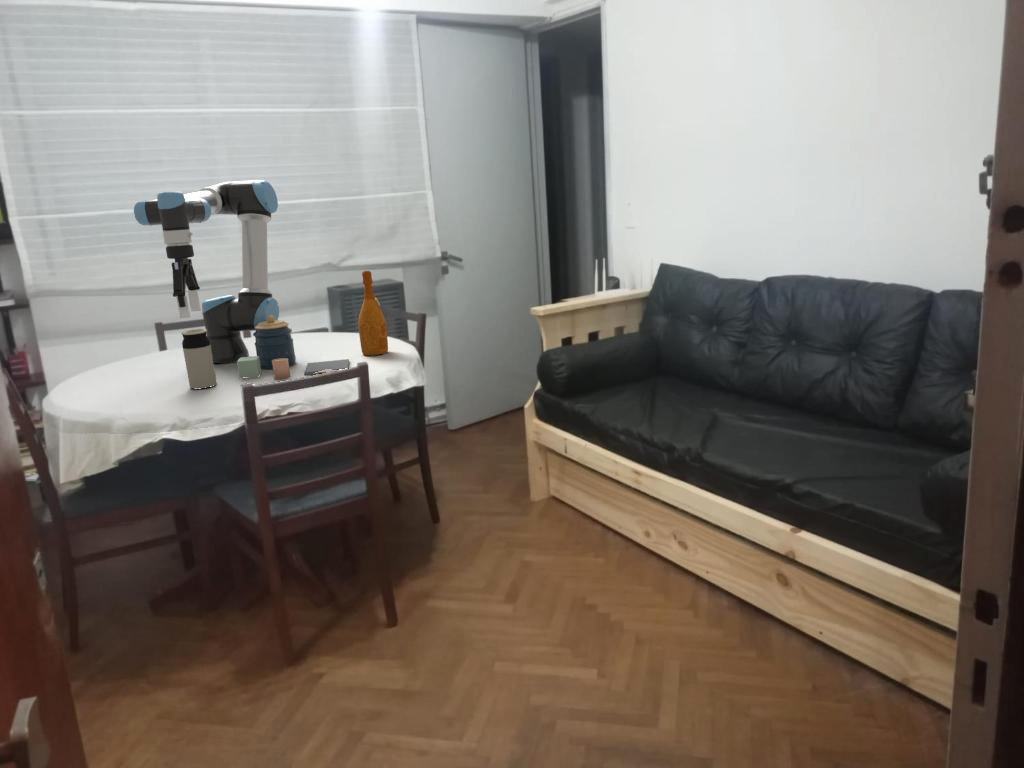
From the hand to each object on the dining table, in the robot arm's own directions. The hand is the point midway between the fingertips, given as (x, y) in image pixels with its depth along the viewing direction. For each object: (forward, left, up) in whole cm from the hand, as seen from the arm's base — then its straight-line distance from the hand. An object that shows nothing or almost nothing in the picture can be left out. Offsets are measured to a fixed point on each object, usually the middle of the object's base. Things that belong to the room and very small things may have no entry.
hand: (190, 314), depth 224 cm
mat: (-9, +38, -23) cm, 46 cm away
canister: (-22, +20, -24) cm, 38 cm away
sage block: (-9, +13, -23) cm, 28 cm away
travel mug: (0, 0, -24) cm, 24 cm away
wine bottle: (-26, +54, -24) cm, 64 cm away
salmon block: (-2, +24, -23) cm, 34 cm away
